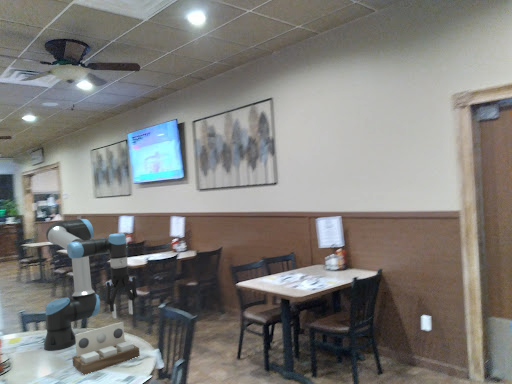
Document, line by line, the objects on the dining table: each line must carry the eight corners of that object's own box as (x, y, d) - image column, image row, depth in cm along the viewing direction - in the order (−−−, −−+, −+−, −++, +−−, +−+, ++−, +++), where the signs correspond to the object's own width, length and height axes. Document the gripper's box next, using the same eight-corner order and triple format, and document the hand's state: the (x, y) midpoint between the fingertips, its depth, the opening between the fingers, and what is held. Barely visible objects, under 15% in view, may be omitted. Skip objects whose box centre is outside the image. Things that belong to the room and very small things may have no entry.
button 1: (80, 361, 180) (80, 355, 180) (94, 357, 184) (94, 351, 184) (85, 364, 176) (85, 358, 176) (99, 360, 179) (99, 354, 179)
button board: (72, 365, 184) (72, 356, 184) (126, 349, 201) (125, 340, 201) (84, 375, 173) (83, 365, 173) (139, 356, 189) (139, 347, 189)
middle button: (99, 355, 185) (98, 349, 185) (112, 351, 189) (111, 345, 189) (104, 359, 181) (103, 352, 181) (117, 354, 185) (117, 348, 185)
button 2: (116, 350, 191) (116, 344, 191) (128, 346, 194) (128, 340, 194) (121, 353, 186) (121, 347, 186) (134, 349, 190) (133, 343, 190)
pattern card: (76, 356, 184) (75, 334, 184) (123, 342, 199) (122, 321, 199) (77, 357, 183) (76, 335, 183) (125, 343, 198) (123, 322, 198)
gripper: (100, 271, 181) (104, 323, 181) (143, 263, 194) (146, 312, 194) (94, 269, 187) (98, 320, 187) (136, 262, 200) (139, 309, 200)
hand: (122, 315), depth 190 cm, fingers open, 7 cm apart
